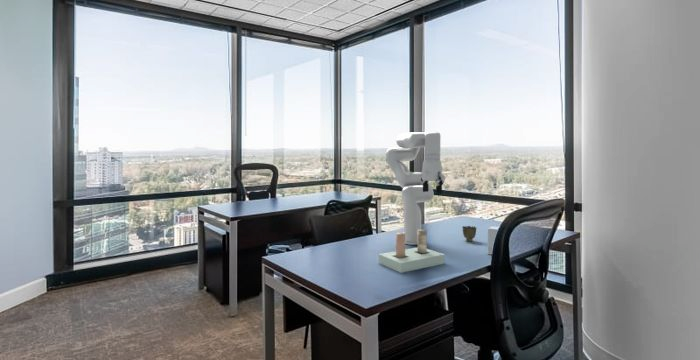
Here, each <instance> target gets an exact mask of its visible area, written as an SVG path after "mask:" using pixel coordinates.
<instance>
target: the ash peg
mask: <svg viewBox="0 0 700 360" xmlns="http://www.w3.org/2000/svg"><path fill="white" fill-rule="evenodd" d="M427 233H428V232H427V229H421V230H418V245H417V247H418V252H417V253H418V254H421V255H422V254H427V249H428V248H427V246H428V244H427Z"/></svg>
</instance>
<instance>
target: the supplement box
mask: <svg viewBox="0 0 700 360" xmlns="http://www.w3.org/2000/svg"><path fill="white" fill-rule="evenodd" d="M499 227H500V226H493V225H492V226H490V227H489V228H487V254H488V255H491V253H492V247H493V242H494V239H495V236H496V234H497V231H498V228H499Z"/></svg>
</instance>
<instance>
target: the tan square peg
mask: <svg viewBox="0 0 700 360" xmlns="http://www.w3.org/2000/svg"><path fill="white" fill-rule="evenodd" d="M405 249H406V244H405V233H403V232H396V233H395V251H396V258H399V259H401V258H405Z"/></svg>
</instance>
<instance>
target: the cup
mask: <svg viewBox="0 0 700 360" xmlns="http://www.w3.org/2000/svg"><path fill="white" fill-rule="evenodd" d="M476 233H477V227H476V226H473V225H472V226H471V225H463V226H462V234H463V237H464V238H465V241H466V242H470V243H471V242H473V240H474V238H475V237H476V235H477V234H476Z"/></svg>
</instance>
